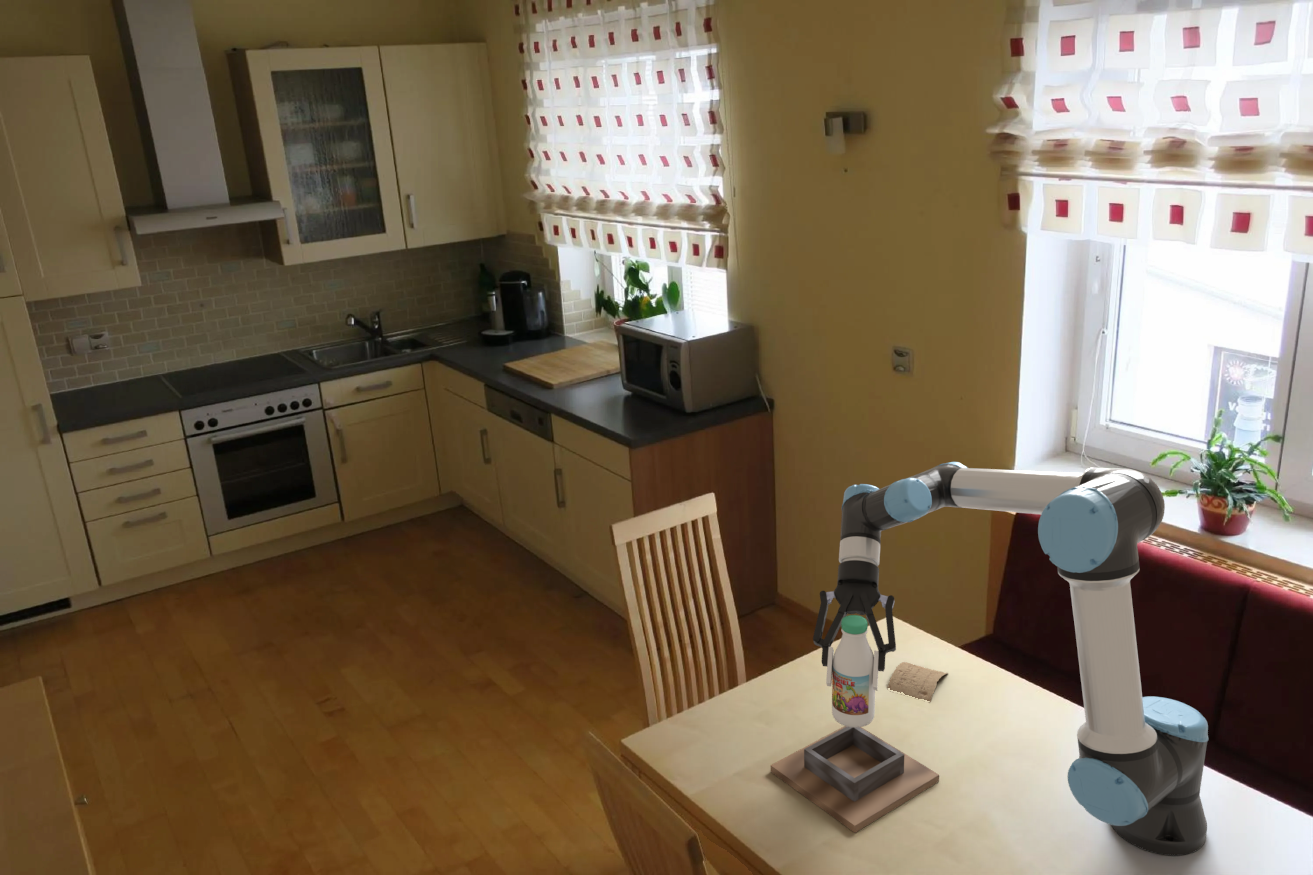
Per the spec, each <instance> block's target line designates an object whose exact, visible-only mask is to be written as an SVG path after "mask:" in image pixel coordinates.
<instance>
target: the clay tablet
mask: <svg viewBox="0 0 1313 875" xmlns="http://www.w3.org/2000/svg"><path fill="white" fill-rule="evenodd" d="M947 674H949V673H948V672H943V671H939V670H935V669H931V668H928V667H925V668H924V666H921V665H917V664H914V665H913V663H911V662H906V661H904V662H901V663H899V664H898V665H897V666H895V669H894V671H893V672H892V674H891V677H890V679H889V682H888V685H887V687H886V688H890V690H893V691H897V692H900V693H901V692H903V693H904V694H905V695H909V696H912V697H915V698H914V699H916V698H918V699H917V700H919V699H924V700H927V701H930V702H928V703H929V704H930V703H931V702H932V698H933V694H934V692H935V691H936V687H937V682H939V680H940V679H941V678H942V677H943V676H945V675H947ZM905 695H904V696H905ZM912 697H911V698H912Z"/></svg>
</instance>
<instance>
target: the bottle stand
mask: <svg viewBox="0 0 1313 875" xmlns="http://www.w3.org/2000/svg"><path fill="white" fill-rule="evenodd" d="M770 773H772V774H773V775H775V776H776V777H778V778H779V780H781V781H783V782H784V783H785V784H787V785H788V786H790V787H791V788H792V789H794V790H795V791H796V792H798V793H799V794H800V795H802V796H803V797H805V798H806V799H808V801H810V802H812V803H813V804H814V805H816V806H817V807H819V808H820V809H821V810H822V811H824V812H825V813H827V814H828V815H829V816H831V817H832V818H834V819H835V820H836V821H838V822H839V823H841V824H842V825H843V826H845V827H846V828H848V829H849V830H850V831H852V832H853V833H857V832H859V831H860V830H862V829H863V828H865V827H867V826H869V825H870V824H872V823H874V822H875V821H877V820H878V819H880V818H882V817H884V816H885V815H887V814H888V813H889V812H891V811H893V810H895V809H897V808H898V807H899V806H902V805H903V804H905V803H906V802H908V801H910V800H911V799H912V798H915V797H916V796H918V795H920V794H921V793H923V792H924V791H926V790H927V789H930V788H931V787H933V786H934V785H935V784H938V783H939V782H940V773H939V774H938V773H937V772H936V771H934V770H933V769H931V768H929V767H927V766H926V765H924V764H922V763H921V762H919V761H917V760H916V759H915V758H913V757H911V756H910V755H908V754H906V753H904V752H903V751H901V750H900V749H898V748H896V747H895V746H893V745H892V744H890V743H888V742H886V740H883V739H881V738H880V737H878V736H876V735H875V734H873V733H872V732H870V731H868V730H867V729H865V728H864V727H847V726H844V725H843V726H842V727H840V728H838V729H836V730H835V731H833V732H830V733H829V734H827V735H825V736H823V737H821V738H819V739H817V740H816V741H814V742H812V743H809V744H807V745H806V746H804V747H802V748H800V749H798V750H796V751H794V752H793V753H791V754H789V755H787V756H785V757H783V758H781V759H779V760H778V761H776V762H774V763H772V764H770Z"/></svg>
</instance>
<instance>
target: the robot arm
mask: <svg viewBox="0 0 1313 875" xmlns="http://www.w3.org/2000/svg"><path fill="white" fill-rule="evenodd" d="M1165 504H1166V503H1165V500H1164V495H1163V493H1162V491H1161V489H1160V488H1159V486H1158V484H1157V483H1156V482H1155V481H1154V480H1153V479H1152V478H1151V477H1150V476H1148V475H1146V474H1145V473H1143V472H1140V471H1138V470H1135V469H1133V468H1132V469H1131V468H1124V467H1093V466H1092V467H1090V468H1087V469H1086V470H1084V471H1083V472H1070V471H1069V472H1068V471H1066V472H1065V471H1042V470H1022V469H1021V470H1018V469H999V468H997V469H995V468H992V469H991V468H973V467H970V468H969V467H968V466H967V465H964V464H962V463H961V462H959V461H951V462H946V463H941V464H938V465H936V466H934V467H932V468H930V469H926V470H925V471H922V472H920V473H916V474H915V475H911V476H908V477H906V478H902V479H900V480H896V481H894V482H893V483H891V484H889V485H886V486H884V487H882V488H879V487H877V486H875V485H872V484H867V483H860V484H852V485H850V486H848V487H847V488H846V489H845V491H844V493H843V501H842V504H841V520H840V521H841V523H840V541H839V552H838V562H839V563H840V564H838V568H837V569H838V570H837V582H836V587H835V589H834V590H833V591H825V590H821V591H820V592H819V597H820V599H819V600H820V605H819V610H818V613H817V619H816V623H815V627H814V631H813V637H812V640H813V644H814V645H815V646H818V647H820V648H821V650H822V651H821V665H822V667H825V668H826V679H825V684H826V687H832V669H833V657H834V653H835V650H834V647H833V646H832V644H833V643H834V641H835V638H836V636H837V635H838V632H839V630H840V628H842V627H841V622H842V619H843V618H844V617H846V616H848V615H859V616H866V617H865V618H866V620H867V622H868V626H869V627H870V631H871V634H872V636H873V639H874V641H875V645H876V648H877V650H873V655H874V667H873V690H875V692H876V691H878V687H879V686H878V681H879V680H878V678H879V672H884V671H885V669H886V655H887V654H888V653H891V652H892V653H893V652H896V650H897V644H896V635H895V634H896V633H895V623H894V615H893V609H894V607H895V606H894V605H895V596H893V595H891V594H890V595H883V594H881V592H880V590H879V580H880V579H879V577H880V568H879V565H880V561H881V560H880V556H881V536H882V531H886V530H889V529H891V528H894V527H897V526H901V525H904V524H907V523H912V522H913V521H916V520H919V519H920V518H922V517H924V516H926V515H927V514H929V513H932V512H934V511H937V510H939V509H942V508H944V507H949V508H950V507H951V508H958V509H959V508H960V509H962V508H963V509H964V508H965V509H973V510H974V509H977V510H986V511H996V512H997V511H999V512H1007V513H1008V512H1010V513H1019V514H1030V515H1031V514H1032V515H1040V517H1039V518H1038V527H1037V534H1038V536H1037V537H1038V541H1039V544H1040V546H1041V549H1042V551H1043V553H1044V554H1045V555H1048V556H1049V561H1050V562H1051V563H1052V564H1053V565H1055V566H1056V567H1057V574H1058V575H1059V576H1060V577H1061V578H1063V579H1064V580H1065V581H1067V582H1068V583H1069V587H1070V588H1069V590H1070V598H1071V606H1072V615H1073V621H1074V631H1075V632H1074V633H1075V639H1076V640H1075V641H1076V647H1077V658H1078V665H1079V674H1080V676H1079V677H1080V682H1081V691H1082V700H1083V708H1084V715H1085V716H1084V717H1085V722H1084V723H1083V724H1081V725H1080V726H1079V727H1078V729H1077V733H1076V737H1077V744H1078V754H1079V755H1078V758H1076V759H1075V760H1074V761H1073V762H1072V763H1071V765H1070V766H1069V768H1068V770H1067V785H1068V787H1069V790H1070V791H1071V794H1072V796H1073V797H1074V798H1075V800H1076V801H1077V803H1078V804H1079V805H1080V806H1081V807H1083V808H1084V809H1085V811H1086V812H1087V813H1088V814H1089V815H1091V816H1092V817H1094V818H1095V819H1097V820H1099V821H1101V822H1102V823H1105V824H1108V825H1110V826H1111V827H1112V828H1113V830H1114V831H1115V832H1116V833H1117V834H1118V835H1119V836H1120V837H1121V838H1123V839H1124V840H1126V841H1127V842H1128V843H1130V844H1132V845H1133V846H1135V847H1138V848H1140V849H1142V850H1145V851H1147V852H1150V853H1154V854H1159V855H1164V856H1165V855H1166V856H1184V855H1189V854H1191V853H1192V854H1193V853H1194V852H1196V851H1198V850H1200V849H1201V848H1202V847H1203V846H1204V844H1205V843H1206V839H1207V832H1208V823H1207V818H1206V815H1205V811H1204V807H1203V802H1202V800H1201V796H1200V793H1201V788H1202V787H1201V786H1202V779H1203V774H1204V766H1205V759H1206V751H1207V745H1208V741H1209V735H1208V734H1209V733H1208V732H1209V731H1208V730H1209V725H1208V721H1207V719H1206V718H1205V717H1204V716H1203V714H1202V713H1201V712H1199V710H1197V709H1196V708H1194V707H1192V706H1190V705H1188V704H1186V703H1185V702H1181V701H1179V700H1176V699H1172V698H1167V697H1162V696H1151V695H1150V696H1143V692H1142V682H1141V680H1142V679H1141V673H1140V672H1141V671H1140V663H1139V662H1140V661H1139V653H1138V645H1137V644H1138V643H1137V634H1136V624H1135V617H1134V608H1133V607H1134V606H1133V598H1132V588H1131V580H1132V579H1133V578H1134V577H1135V576H1136V575H1137V574H1138V573H1139V572H1140V561H1139V550H1138V544H1139V543H1141V542H1142V541H1145V539H1147V538H1149V537H1150V536H1152V535H1153V534H1154V533H1155V532H1156V531H1157V530H1158V529H1159V527H1160V525H1161V524H1162V522H1163V519H1164V515H1165V508H1166V507H1165ZM833 599H836V601H837V603H838V604H839V608H838V610H837V613H836V614H835V616H834V619H833V621H832V623H831V625H830V627H829V629H828V630H827V633H826V634H825V637H824V638H823V633H824V628H825V624H826V620H827V614H828V610H829V605H830V604H832V602H833ZM879 602H881V606H882V608H884V611H885V612H884V613H885V621H886V622H885V623H886V630H887V640H888V643H885V642H884V640H883V637H882V634H881V630H880V628H879V626H878V623H877V620H876V618H875V615H874V611H873V608H874V607H876V605H877V604H878V603H879Z"/></svg>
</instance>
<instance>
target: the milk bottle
mask: <svg viewBox="0 0 1313 875" xmlns="http://www.w3.org/2000/svg"><path fill="white" fill-rule="evenodd" d="M868 626H869V622H868V620H867V618H866V617H864V616H863V615H859V614H848V615H847V616H846V617H844V618H843V619H842V622H841V627H840V628H841V633H842V635H841V637H840V638H841V639H840V641H839V643H838V644H837V647H836V649H835V650H834V656H833V669H832V685H831V708H832V709H831V711H832V712H831V713H832V717H833V718H834V721H836V722H837V723H838V724H839V725H841V726H843V727H844V726H847V727H862V728H864V727H866V726H868V725H869V724H871V723H872V722H873V720H874V718H875V713H876V712H875V711H876V708H875V707H876V690H873V667H874V651H873V650H872V647H871V645H870V643H869V642H868V641H869V640H868V638H867V634H868Z"/></svg>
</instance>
